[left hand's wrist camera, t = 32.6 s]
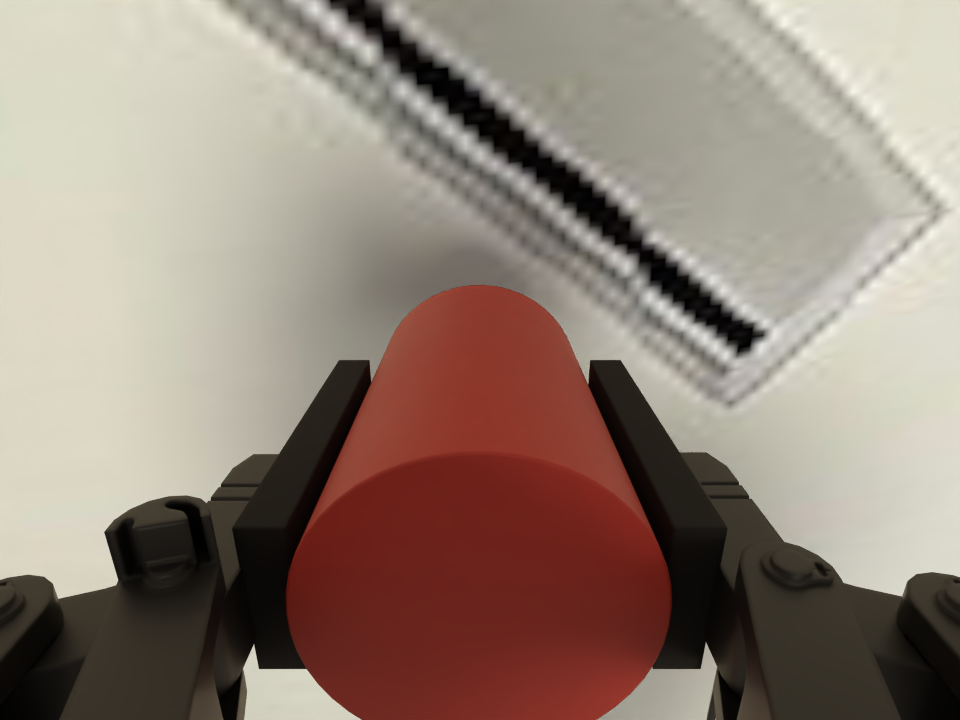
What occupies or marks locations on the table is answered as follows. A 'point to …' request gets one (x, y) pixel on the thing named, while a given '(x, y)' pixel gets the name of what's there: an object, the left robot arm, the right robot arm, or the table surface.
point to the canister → (478, 532)
